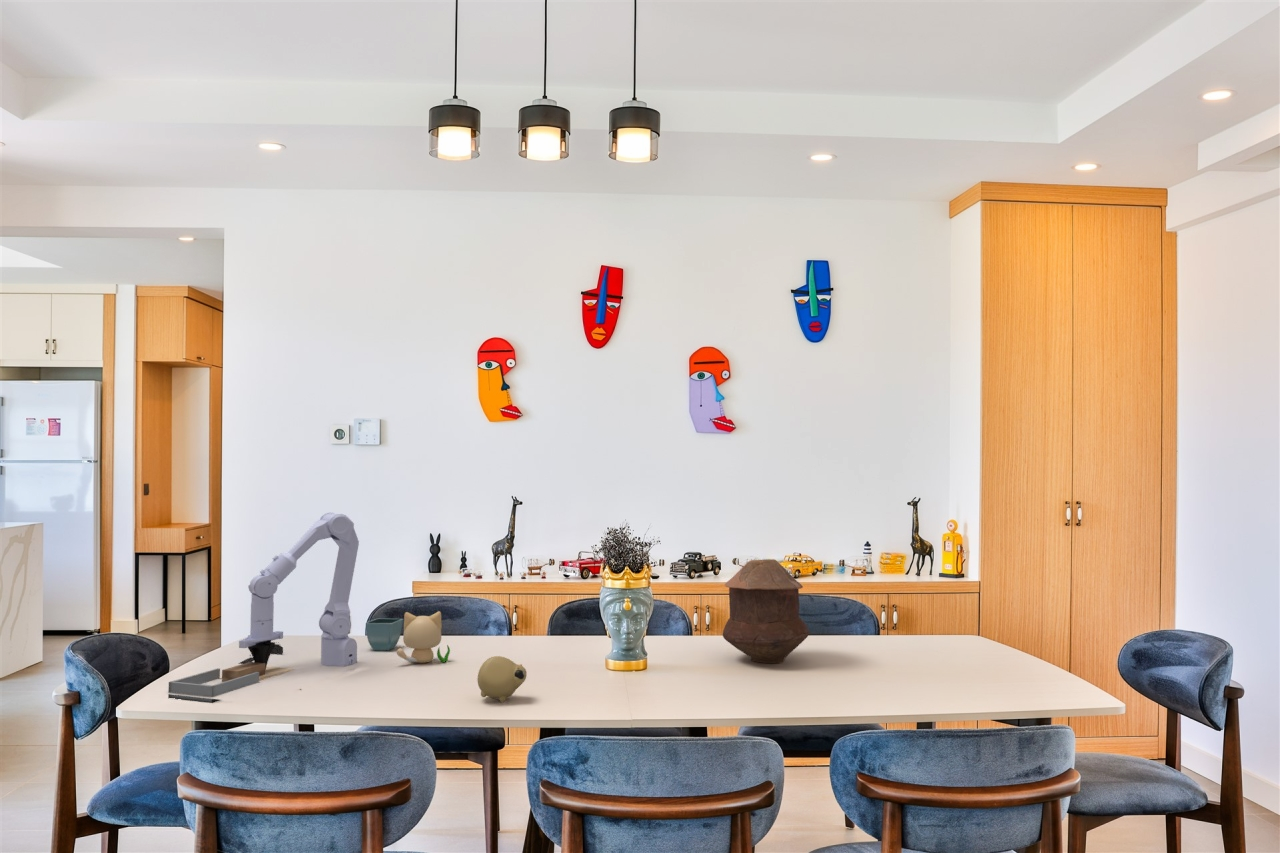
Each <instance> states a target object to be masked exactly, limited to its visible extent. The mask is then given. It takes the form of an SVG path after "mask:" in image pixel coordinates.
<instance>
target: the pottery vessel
mask: <svg viewBox="0 0 1280 853" xmlns="http://www.w3.org/2000/svg"><path fill="white" fill-rule="evenodd" d="M724 587H726V588H729V589H728V590H729V591H728V597H729V598H728V599H729V603H728V604H729V605H728V606H729V618H728V619H727V621H726V623H725V625H724V627H723V630H722V637H723V639H724V640H725V641H726V642H727V643H729V644H730V645H732V646H733V647H735V649H737V650H739V652H742V653H743V654H745V656H747V657H749V658H750V659H751V661H753V662H755V663H762V664H781V663H783V662H784V661H785V659H786V658H787V656H788V655H789V654H790V653H792V652H793V651H794V650H795V649H797V648H798V646H800V645H801V644H802V643H803V642H804V641H805V640H806V639H807V638H808V636H809V635H810V631H809V628H808V626H807V625H806V623H805V622H804V621H803V620H802V618H801V617H800V598H799V597H800V596H799V595H800V594H799V592H800V591H799V590H800V589H803V588H804V587H803V585H802V584H801V583H800V582H799V581H798V580H797V579H795V577H793V575H792V574H791V573H790V572H789V571H788V570H787V569H786V568H785V567H784V566H783V565H782V564H780V562H778V561H777V560H776V559H770V558H767V559H755V560H754V559H752V560H749V561H747V562H746V564H744V565H743V566H742V567H741V568H740V569H739V570H738V571H737V572H736V573H735V574H734V575H733V576H731V578H730V579H729V580H728V581H726V582H725V583H724Z"/></svg>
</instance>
